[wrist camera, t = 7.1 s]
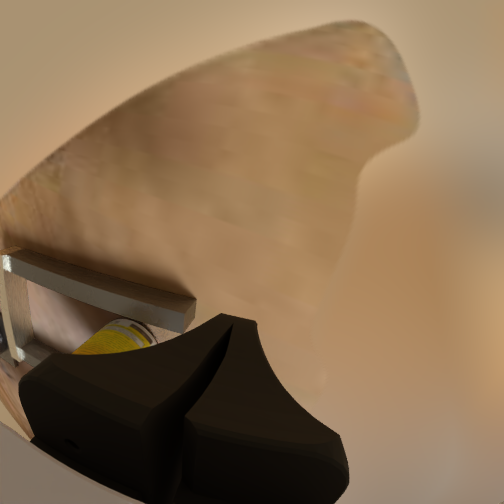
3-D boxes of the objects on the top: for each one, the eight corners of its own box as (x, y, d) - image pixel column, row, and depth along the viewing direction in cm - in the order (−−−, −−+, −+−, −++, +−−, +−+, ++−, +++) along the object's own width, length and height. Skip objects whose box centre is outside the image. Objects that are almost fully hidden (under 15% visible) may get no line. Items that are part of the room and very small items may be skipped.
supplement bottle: (96, 319, 22) (16, 382, 13) (149, 312, 21) (67, 389, 12) (121, 374, 23) (59, 448, 14) (173, 373, 22) (117, 463, 13)
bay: (185, 413, 23) (175, 435, 21) (28, 345, 25) (11, 356, 22) (196, 299, 21) (181, 317, 18) (15, 245, 22) (-6, 252, 19)
